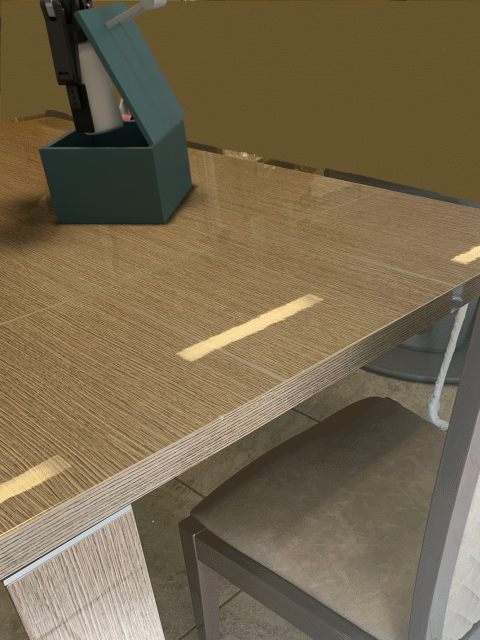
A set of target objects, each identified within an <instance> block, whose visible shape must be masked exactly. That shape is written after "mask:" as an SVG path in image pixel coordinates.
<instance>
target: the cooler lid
mask: <svg viewBox="0 0 480 640" xmlns="http://www.w3.org/2000/svg"><path fill="white" fill-rule="evenodd" d="M167 3H168V0H139V2H138V3H137V4H135V5H133V6H131V7H130V8H129V7H128V5H127V4H126V1H120V2H115V3H110V4H106V5H100V6H96V7H93V8H90V9H85V10H80V11H77V12H75V13H74V16H75V17H76V19H77V21H78V23H79V24H80V26H81V28H82V29H83V31H84V33H85V35H86V36H87V38H88V40H89V42H90V43H91V45H92V47H93V49H94V50H95V52H96V54H97V56H98V57H99V59H100V61H101V63H102V64H103V66H104V68H105V69H106V71H107V73H108V75H109V78H110V81H111V83H112V84H113V85H114V86H115V89H116V90H117V93H118V94H119V95H120V98H121V97H122V99H123V101H124V103H125V104H126V106H127V108H128V112H129V113H130V114H131V115H130V116H133V118H134V120H135V122H136V123H137V125H138V127H139V129H140V130H141V132H142V134H143V136H144V137H145V139H146V141H147V143H148V144H149V146H152V145H153V144H155V143H156V142H157V141H158V140H159V139H160V138H161V137H163V136H164V135H165V134H166V133H167V132H168V131H169V130H170V129H171V128H172V127H174V126H175V125H176V124H177V123H178V122H179V121H180V120H183V119H184V118H185V117H186V114H185V112H184V111H183V108H182V107H181V105H180V103H179V102H178V99H177V98H176V95H175V94H174V91H173V90H172V88H171V86H170V85H169V82H168V81H167V78H166V76H165V75H164V73H163V71H162V69H161V67H160V65H159V63H158V62H157V60H156V58H155V56H154V54H153V53H152V51H151V48H150V47H149V44H148V43H147V41H146V39H145V37H144V36H143V33H142V32H141V30H140V27H139V25H138V24H137V22H136V19H135V18H136V17H138V16H139V15H141V14H144V12H146V11H151V10H156V9H160V8H163V7H165V6H166V5H167Z"/></svg>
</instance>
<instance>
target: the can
mask: <svg viewBox="0 0 480 640" xmlns="http://www.w3.org/2000/svg"><path fill="white" fill-rule="evenodd" d="M78 49H79V59H80V69H81V79H82V84H85V85H86V90H87V95H88V100H89V105H90V109H91V114H92V119H93V124H94V128H95V132H94V133H86V134H87V135H98V134H103V133H107V132H111V131H114V130H117V129H119V128H121V127H123V124H124V121H123V118H122V115H121V111H120V108H119V106H120V104H119V102H118V99H117V97H116V96H117V95H116V93H115V89H114V87H113V83H112V80H111V78H110V76H109V75H108V73H107V71H106V69H105V68H104V66H103V64H102V63H101V61H100V59H99V57H98V56H97V54H96V52H95V50H94V49H93V47H92V45H91V43H90V42H89V40H88V41H86V42H82V43H78Z"/></svg>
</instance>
